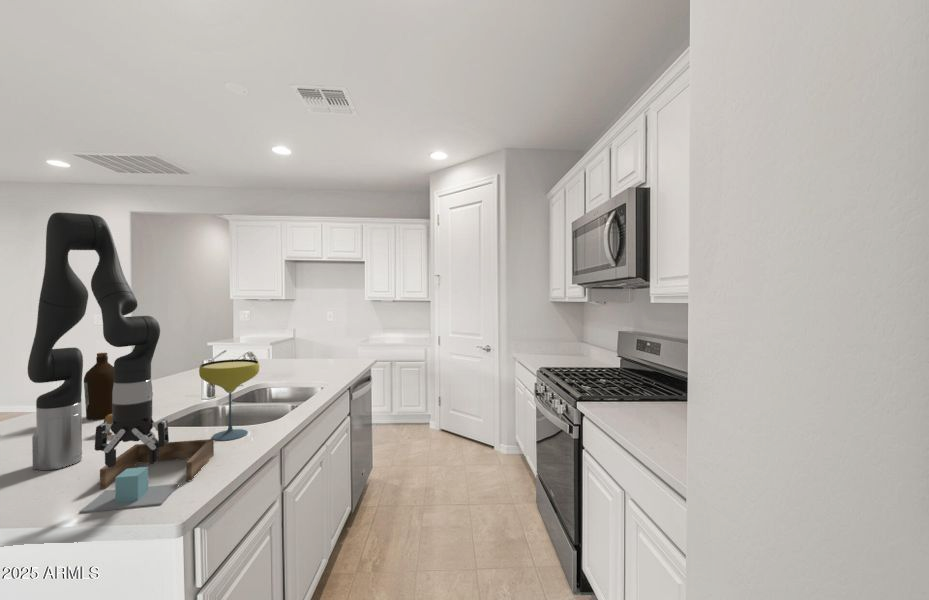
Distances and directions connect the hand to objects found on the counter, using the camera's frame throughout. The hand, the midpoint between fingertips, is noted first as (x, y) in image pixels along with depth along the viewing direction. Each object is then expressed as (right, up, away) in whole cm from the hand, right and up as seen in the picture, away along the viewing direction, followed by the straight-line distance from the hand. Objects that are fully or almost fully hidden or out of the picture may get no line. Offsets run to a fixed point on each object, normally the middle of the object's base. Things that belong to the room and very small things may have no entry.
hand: (132, 464), depth 100 cm
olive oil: (-62, -6, +61) cm, 87 cm away
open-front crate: (-4, -8, +14) cm, 17 cm away
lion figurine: (-39, -7, +45) cm, 60 cm away
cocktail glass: (-1, -7, +43) cm, 44 cm away
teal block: (0, -8, 0) cm, 8 cm away
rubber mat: (0, -8, 0) cm, 8 cm away
